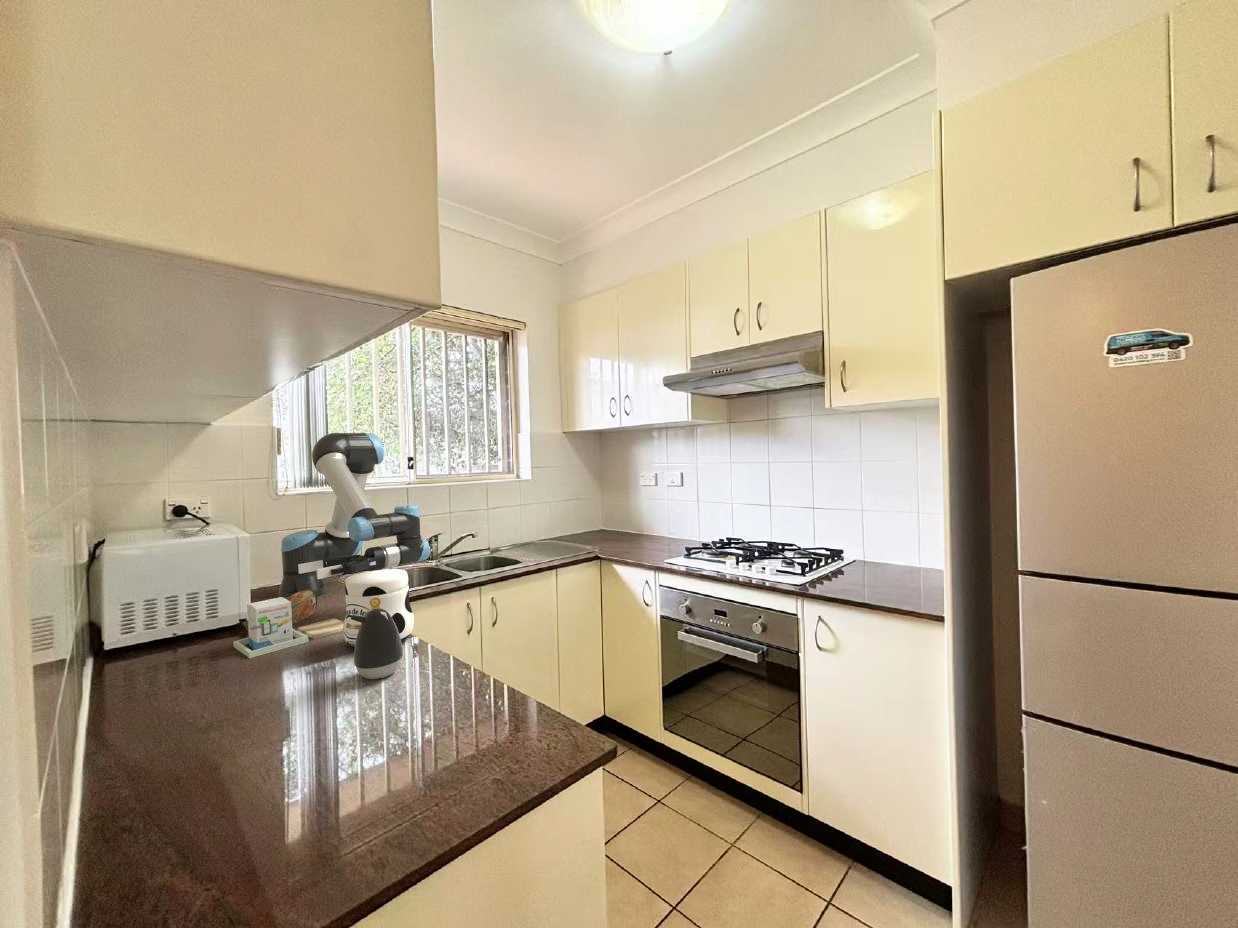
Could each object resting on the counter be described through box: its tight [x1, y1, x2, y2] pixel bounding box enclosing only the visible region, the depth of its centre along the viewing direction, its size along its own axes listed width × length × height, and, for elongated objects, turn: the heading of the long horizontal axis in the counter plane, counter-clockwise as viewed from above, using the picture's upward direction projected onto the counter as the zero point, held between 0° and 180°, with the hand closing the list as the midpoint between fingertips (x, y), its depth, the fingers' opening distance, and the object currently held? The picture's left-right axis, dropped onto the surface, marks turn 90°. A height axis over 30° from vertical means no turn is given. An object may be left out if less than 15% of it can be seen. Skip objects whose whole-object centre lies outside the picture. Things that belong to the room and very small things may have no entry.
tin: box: [285, 590, 318, 625], centre depth 161 cm, size 15×3×8 cm, turn 179°
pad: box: [297, 617, 344, 640], centre depth 150 cm, size 12×10×1 cm
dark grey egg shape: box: [351, 608, 404, 680], centre depth 117 cm, size 10×10×15 cm
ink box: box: [246, 597, 294, 651], centre depth 139 cm, size 9×8×12 cm
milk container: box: [342, 568, 415, 649], centre depth 138 cm, size 17×17×18 cm
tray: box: [233, 627, 309, 659], centre depth 140 cm, size 14×14×2 cm
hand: (307, 571), depth 146 cm, fingers open, 13 cm apart
